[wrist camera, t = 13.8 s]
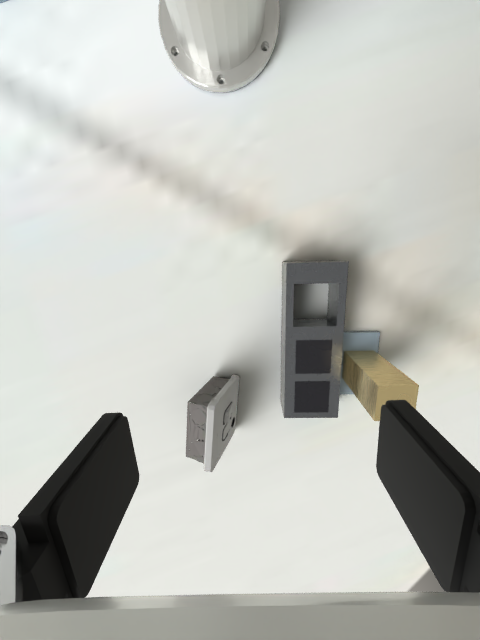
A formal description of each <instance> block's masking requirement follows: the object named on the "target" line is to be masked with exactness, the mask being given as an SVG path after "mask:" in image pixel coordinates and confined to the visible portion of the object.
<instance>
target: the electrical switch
mask: <svg viewBox="0 0 480 640" xmlns="http://www.w3.org/2000/svg"><path fill="white" fill-rule="evenodd" d="M238 391H239V376H238V375H232V376H231V378H230V379H227V378H219V377H214V376H213V377H212V378H211V379H210V380H209V381H208V382H207V383H206V384H205V385H204V386H203V387H202V388H201V389H200V390H199V391H198V392H197V393H196V394H195V395H194V396H193V397H192V398H191V399H190V400H189V401H188V409H187V440H186V457H189V458H192V459H195V460H197V461H198V462H202V463H204V471H208V472H212V471H213V470H214V468H215V466H216V464H217V463H218V461H219V459H220V457H221V455H222V454H223V452H224V450H225V448H226V446H227V445H228V443H229V441H230V439H231V437H232V435H233V434H234V431H235V427H236V415H237V403H238ZM189 402H191V403H189ZM193 403H194V404H193ZM190 414H191V415H190ZM195 423H196V424H195ZM198 439H199V440H198ZM196 440H198V441H196ZM191 442H192V443H191ZM189 449H190V450H189Z"/></svg>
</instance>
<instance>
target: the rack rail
mask: <svg viewBox="0 0 480 640" xmlns="http://www.w3.org/2000/svg"><path fill="white" fill-rule="evenodd" d="M348 263H349V262H348V261H298V262H282V326H281V406H282V410H283V415H284V418H338V407H339V393H340V378H341V364H342V350H343V335H344V321H345V306H346V292H347V277H348ZM312 283H329V293H328V312H327V319H293V306H294V284H312Z"/></svg>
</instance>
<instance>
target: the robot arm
mask: <svg viewBox="0 0 480 640" xmlns="http://www.w3.org/2000/svg"><path fill="white" fill-rule="evenodd" d="M279 14H280V6H279V0H159V27H160V33H161V37H162V40H163V43H164V46H165V49H166V51H167V54H168V56H169V58H170V60H171V62H172V63H173V65H174V66H175V68H176V70H177V71H178V72H179V73H180V74H181V75H182V76H183V77H184V78H185V79H186V80H187V81H189V82H190V83H191V84H192V85H194V86H196V87H198V88H200V89H202V90H205V91H210V92H214V93H225V92H230V91H234V90H237V89H239V88H241V87H244V86H246V85H247V84H248V83H250V82H251V81H252V80H254V79H255V78H256V77H257V76H258V75H259V73H260V72H261V71H262V70H263V69H264V67H265V66H266V64H267V62H268V61H269V59H270V57H271V55H272V52H273V50H274V47H275V43H276V39H277V35H278V28H279ZM263 50H266V51H263ZM176 55H177V56H176ZM220 82H223V84H220ZM376 467H377V473H378V476H379V478H380V479H381V481H382V483H383V485H384V487H385V488H386V490H387V492H388V494H389V495H390V497H391V499H392V501H393V502H394V504H395V506H396V508H397V509H398V511H399V513H400V515H401V517H402V518H403V520H404V522H405V524H406V525H407V527H408V529H409V531H410V532H411V534H412V536H413V538H414V539H415V541H416V543H417V545H418V547H419V548H420V550H421V552H422V554H423V555H424V557H425V559H426V561H427V562H428V564H429V566H430V568H431V569H432V571H433V573H434V575H435V576H436V578H437V580H438V582H439V584H440V585H441V587H442V588H443V589H444V590H445V591H446V592H353V593H275V594H216V595H168V596H125V597H92V598H85V597H86V596H87V595H88V593H89V591H90V589H91V587H92V585H93V583H94V581H95V578H96V576H97V574H98V572H99V569H100V567H101V565H102V563H103V561H104V558H105V556H106V554H107V552H108V550H109V547H110V545H111V543H112V541H113V539H114V536H115V534H116V532H117V530H118V528H119V525H120V523H121V521H122V519H123V517H124V514H125V512H126V510H127V508H128V506H129V503H130V501H131V499H132V497H133V494H134V492H135V490H136V488H137V485H138V482H139V471H138V467H137V462H136V457H135V452H134V447H133V442H132V438H131V433H130V428H129V423H128V419H127V417H125V416H123V414H122V413H105V414H104V415H102V417H101V418H100V419H99V420H98V421H97V422H96V424H95V425H94V426H93V427H92V428H91V430H90V431H89V432H88V433H87V434H86V436H85V437H84V438H83V439H82V440H81V441H80V443H79V444H78V445H77V446H76V447H75V449H74V450H73V451H72V452H71V453H70V454H69V456H68V457H67V458H66V459H65V460H64V462H63V463H62V464H61V465H60V466H59V468H58V469H57V470H56V471H55V472H54V473H53V475H52V476H51V477H50V478H49V479H48V481H47V482H46V483H45V484H44V485H43V486H42V488H41V489H40V490H39V491H38V492H37V494H36V495H35V496H34V497H33V498H32V500H31V501H30V502H29V503H28V504H27V505H26V507H25V508H24V509H23V510H22V511H21V513H20V514H19V515H18V517H19V519H18V521H17V522H16V523H15V524H14V525H13V527H11V526H9V525H0V640H480V472H479V471H478V470H477V469H476V468H475V467H474V466H473V465H472V464H471V463H470V462H469V461H468V460H466V459H465V458H464V457H463V456H462V455H461V454H460V453H459V452H458V451H457V450H456V449H455V448H454V447H453V446H452V445H451V444H450V443H449V442H448V441H447V440H446V439H445V438H444V437H443V436H442V435H441V434H440V433H439V432H438V431H437V430H436V429H435V428H434V427H433V426H432V425H431V424H430V423H429V422H428V421H427V420H426V419H425V418H424V417H423V416H422V415H421V414H420V413H419V412H418V411H417V410H416V409H415V408H414V407H413V406H412V405H411V404H409V403H408V402H407V401H406V400H388V401H386V404H385V405H382V406H381V414H380V426H379V439H378V451H377V464H376Z"/></svg>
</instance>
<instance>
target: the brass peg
mask: <svg viewBox="0 0 480 640" xmlns="http://www.w3.org/2000/svg"><path fill="white" fill-rule="evenodd" d="M342 379H343V380H344V381H345V383H346V384H347V385H348V387H349V388H350V389H351V390H352V392H353V393H354V394H355V396H356V397H357V398H358V400H359V401H360V402H361V404H362V405H363V406H364V408H365V409H366V410H367V412H368V413H369V414H370V416H371V417H372V418H373V420H374V421H380V414H381V406H382V405H385V404H386V401H388V400H406V401H407V402H408V403H409V404H411V405H412V406H413V407H414V408H415V409H416V402H417V395H418V388H419V385H418V384H416V383H415V382H414V381H413V380H411V379H410V378H409V377H407V376H406V375H405V374H404V373H402V372H401V371H400V370H398V369H397V368H396V367H395V366H393V365H392V364H391V363H389V362H388V361H387V360H386V359H384V358H383V357H382V356H380V355H379V354H378V353H376V352H375V351H374V350H371V351H344V357H343V371H342Z"/></svg>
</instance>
